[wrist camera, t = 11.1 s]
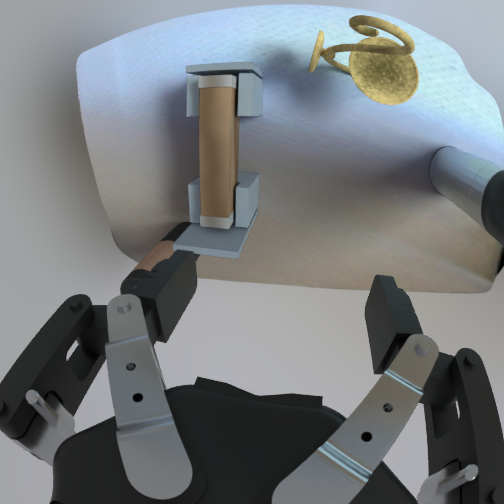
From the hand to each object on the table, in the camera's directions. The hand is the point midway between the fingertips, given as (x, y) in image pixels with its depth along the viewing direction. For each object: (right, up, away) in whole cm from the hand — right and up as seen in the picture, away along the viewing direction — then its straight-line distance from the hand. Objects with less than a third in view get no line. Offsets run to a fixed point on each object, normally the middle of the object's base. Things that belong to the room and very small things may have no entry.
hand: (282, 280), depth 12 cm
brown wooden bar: (-5, +16, +26) cm, 32 cm away
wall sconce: (+15, +29, +22) cm, 40 cm away
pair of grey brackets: (-4, +19, +32) cm, 37 cm away
